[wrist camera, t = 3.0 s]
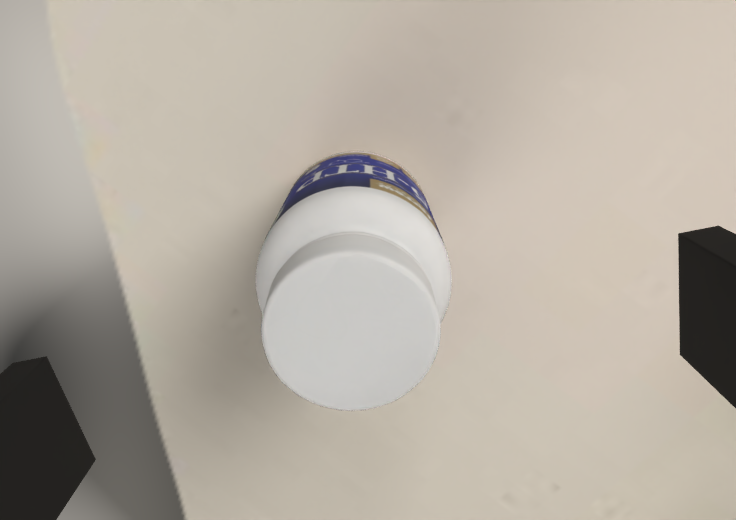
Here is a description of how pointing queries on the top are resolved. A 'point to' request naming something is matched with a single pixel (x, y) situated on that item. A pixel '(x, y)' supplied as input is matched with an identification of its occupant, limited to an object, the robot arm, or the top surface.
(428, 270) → the pill bottle
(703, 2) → the top surface
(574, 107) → the top surface
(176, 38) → the top surface
